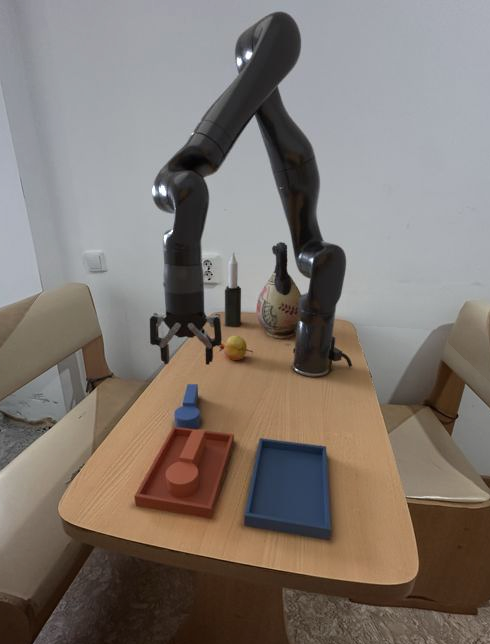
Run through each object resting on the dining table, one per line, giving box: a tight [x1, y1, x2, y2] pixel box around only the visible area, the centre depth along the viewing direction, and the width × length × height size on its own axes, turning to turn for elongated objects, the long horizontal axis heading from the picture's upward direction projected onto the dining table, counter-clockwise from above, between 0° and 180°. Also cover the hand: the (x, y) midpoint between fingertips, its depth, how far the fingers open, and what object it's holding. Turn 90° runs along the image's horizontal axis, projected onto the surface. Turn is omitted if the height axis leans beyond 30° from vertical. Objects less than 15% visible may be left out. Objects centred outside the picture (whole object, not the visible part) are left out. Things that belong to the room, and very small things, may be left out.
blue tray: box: [243, 437, 332, 541], centre depth 61 cm, size 18×12×2 cm
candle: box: [224, 251, 242, 328], centre depth 127 cm, size 5×5×25 cm
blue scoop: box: [173, 383, 201, 430], centre depth 81 cm, size 13×5×4 cm, turn 178°
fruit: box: [218, 335, 254, 361], centre depth 105 cm, size 7×7×10 cm
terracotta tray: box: [133, 426, 235, 520], centre depth 65 cm, size 18×12×2 cm
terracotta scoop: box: [166, 429, 206, 497], centre depth 64 cm, size 13×5×4 cm, turn 168°
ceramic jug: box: [255, 241, 302, 340], centre depth 117 cm, size 17×15×30 cm
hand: (187, 362), depth 77 cm, fingers open, 8 cm apart
